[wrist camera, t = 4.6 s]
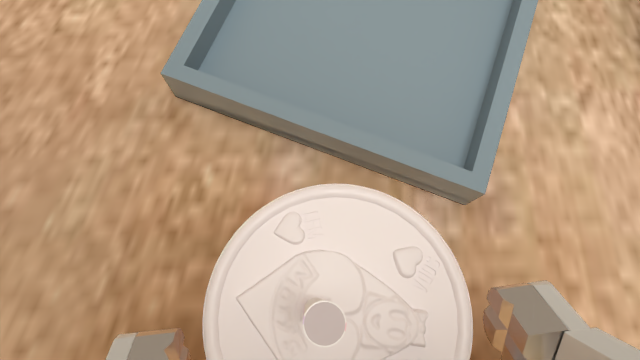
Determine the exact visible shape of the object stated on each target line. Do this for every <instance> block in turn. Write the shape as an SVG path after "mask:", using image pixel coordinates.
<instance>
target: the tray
mask: <svg viewBox="0 0 640 360" xmlns="http://www.w3.org/2000/svg"><path fill="white" fill-rule="evenodd" d="M537 2H538V0H202V1H201V3H200V5H199V7H198V8H197V10H196V12H195V14H194V16H193V17H192V19H191V21H190V23H189V24H188V26H187V28H186V30H185V31H184V33H183V35H182V37H181V38H180V40H179V42H178V44H177V45H176V47H175V49H174V51H173V52H172V54H171V56H170V58H169V59H168V61H167V63H166V65H165V66H164V68H163V70H162V72H161V75H162V76H163V78H164V79H165V81H166V82H167V84H168V85H169V87H170V88H171V90H172V91H173V93H174V95H175V96H176V97H178V98H181V99H184V100H186V101H189V102H192V103H194V104H197V105H200V106H202V107H205V108H208V109H210V110H213V111H216V112H218V113H221V114H224V115H226V116H229V117H232V118H234V119H237V120H240V121H242V122H245V123H248V124H250V125H253V126H256V127H258V128H261V129H264V130H266V131H269V132H272V133H274V134H277V135H280V136H282V137H285V138H288V139H290V140H293V141H296V142H298V143H301V144H304V145H306V146H309V147H312V148H314V149H317V150H320V151H322V152H325V153H328V154H330V155H333V156H336V157H338V158H341V159H344V160H346V161H349V162H352V163H354V164H357V165H360V166H362V167H365V168H368V169H370V170H373V171H376V172H378V173H381V174H384V175H386V176H389V177H392V178H394V179H397V180H400V181H402V182H405V183H408V184H410V185H413V186H416V187H418V188H421V189H424V190H426V191H429V192H432V193H434V194H437V195H440V196H442V197H445V198H448V199H450V200H453V201H456V202H458V203H461V204H464V205H466V204H468V203H470V202H471V201H473V200H475V199H477V198H479V197H480V196H482V195H484V194H485V192H486V188H487V185H488V181H489V177H490V174H491V170H492V166H493V163H494V159H495V155H496V152H497V148H498V144H499V141H500V137H501V133H502V130H503V126H504V122H505V119H506V115H507V112H508V108H509V104H510V101H511V97H512V93H513V90H514V86H515V82H516V79H517V75H518V71H519V68H520V64H521V60H522V57H523V53H524V50H525V46H526V42H527V39H528V35H529V31H530V28H531V24H532V20H533V17H534V13H535V9H536V6H537Z"/></svg>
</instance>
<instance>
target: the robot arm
mask: <svg viewBox="0 0 640 360" xmlns="http://www.w3.org/2000/svg"><path fill="white" fill-rule="evenodd" d="M487 300H488V301H489V303H490V305H489V306H488V307H487V308H486V309H485V310H484V315H483V324H484V330H485V333H486V335H487V338H488V340H489V341H490V343H491V345H492V346H493V347H494V348H496V349H497V350H499V351H500V352H502V356H501V360H640V350H638V349H636V348H635V347H633V346H631V345H629V344H627V343H625V342H623V341H621V340H619V339H617V338H615V337H613V336H612V335H610V334H608V333H606V332H604V331H602V330H600V329H598V328H590V327H589V326H588V325H587V324H586V322H585V321H584V320H583V319H582V318H581V317H580V316H579V314H578V313H577V312H576V311H575V310H574V309H573V308H572V307H571V305H570V304H569V303H568V302H567V301H566V300H565V299H564V297H563V296H562V295H561V294H560V293H559V292H558V291H557V289H556V288H555V287H554V286H553V285H552V284H551V283H550V282H548V281H538V282H531V283H522V284H515V285H507V286H500V287H493V288H490V290H489V291H488V294H487ZM184 338H185V337H184V334H183V332H182V329H181V328H173V329H163V330H153V331H143V332H136V333H127V334H119V335H118V336H117V337H116V338H115V339H114V340H113V343H112V345H111V347H110V350H109V352H108V355H107V357H106V359H105V360H191V355H190V352H189V349H188V348H186V347H185V346H183V342H184Z"/></svg>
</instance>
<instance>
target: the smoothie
mask: <svg viewBox="0 0 640 360" xmlns="http://www.w3.org/2000/svg"><path fill="white" fill-rule="evenodd" d="M472 339H473V318H472V308H471V302H470V297H469V292H468V289H467V285H466V282H465V279H464V276H463V274H462V271H461V268H460V266H459V264H458V262H457V260H456V258H455V256H454V254H453V253H452V251H451V250H450V248H449V246H448V245H447V243H446V242H445V241H444V239H443V238H442V236H441V235H440V234H439V233H438V232H437V230H436V229H435V228H434V227H433V226H432V225H431V224H430V223H429V222H428V221H427V220H426V219H425V218H424V217H423V216H421V215H420V214H419V213H418V212H416V211H415V210H414V209H413V208H411V207H410V206H408V205H406V204H405V203H403V202H402V201H400V200H398V199H396V198H394V197H392V196H390V195H388V194H385V193H383V192H380V191H377V190H374V189H371V188H367V187H362V186H358V185H350V184H322V185H315V186H310V187H306V188H302V189H298V190H295V191H293V192H290V193H287V194H285V195H283V196H281V197H279V198H277V199H275V200H273V201H271V202H270V203H268V204H266V205H265V206H263V207H262V208H261V209H259V210H258V211H257V212H255V213H254V214H253V215H252V216H251V217H250V218H248V219H247V220H246V221H245V222H244V223H243V224H242V225H241V226H240V228H239V229H238V230H237V231H236V232H235V233H234V235H233V236H232V237H231V239H230V240H229V241H228V243H227V244H226V246H225V248H224V249H223V251H222V253H221V254H220V256H219V258H218V260H217V262H216V264H215V267H214V269H213V272H212V274H211V277H210V280H209V284H208V287H207V291H206V296H205V302H204V309H203V342H204V350H205V355H206V360H470V355H471V350H472Z"/></svg>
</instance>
